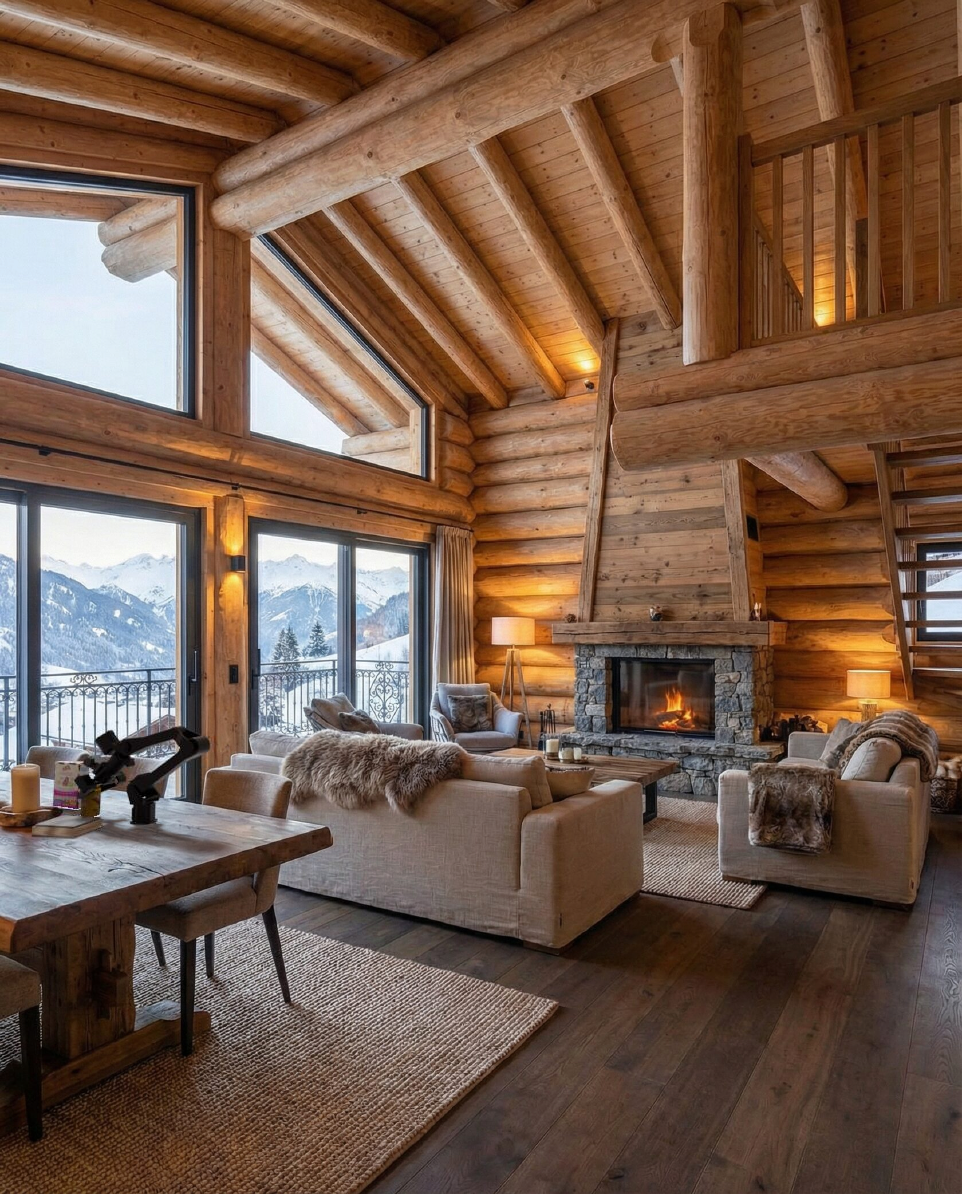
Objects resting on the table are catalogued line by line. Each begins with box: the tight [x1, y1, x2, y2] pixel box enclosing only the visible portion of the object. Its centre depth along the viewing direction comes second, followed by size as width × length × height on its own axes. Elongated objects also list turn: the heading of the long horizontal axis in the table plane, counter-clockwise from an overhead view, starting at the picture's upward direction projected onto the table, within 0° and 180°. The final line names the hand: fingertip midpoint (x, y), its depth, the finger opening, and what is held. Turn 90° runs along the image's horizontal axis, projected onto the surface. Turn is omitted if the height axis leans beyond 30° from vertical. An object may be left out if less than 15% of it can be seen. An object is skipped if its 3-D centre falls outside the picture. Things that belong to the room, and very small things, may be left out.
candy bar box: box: [52, 760, 90, 809], centre depth 287 cm, size 11×5×16 cm, turn 73°
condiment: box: [79, 785, 102, 817], centre depth 274 cm, size 7×8×12 cm
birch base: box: [31, 814, 103, 838], centre depth 255 cm, size 14×14×3 cm
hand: (86, 796), depth 275 cm, fingers closed on condiment, 6 cm apart
